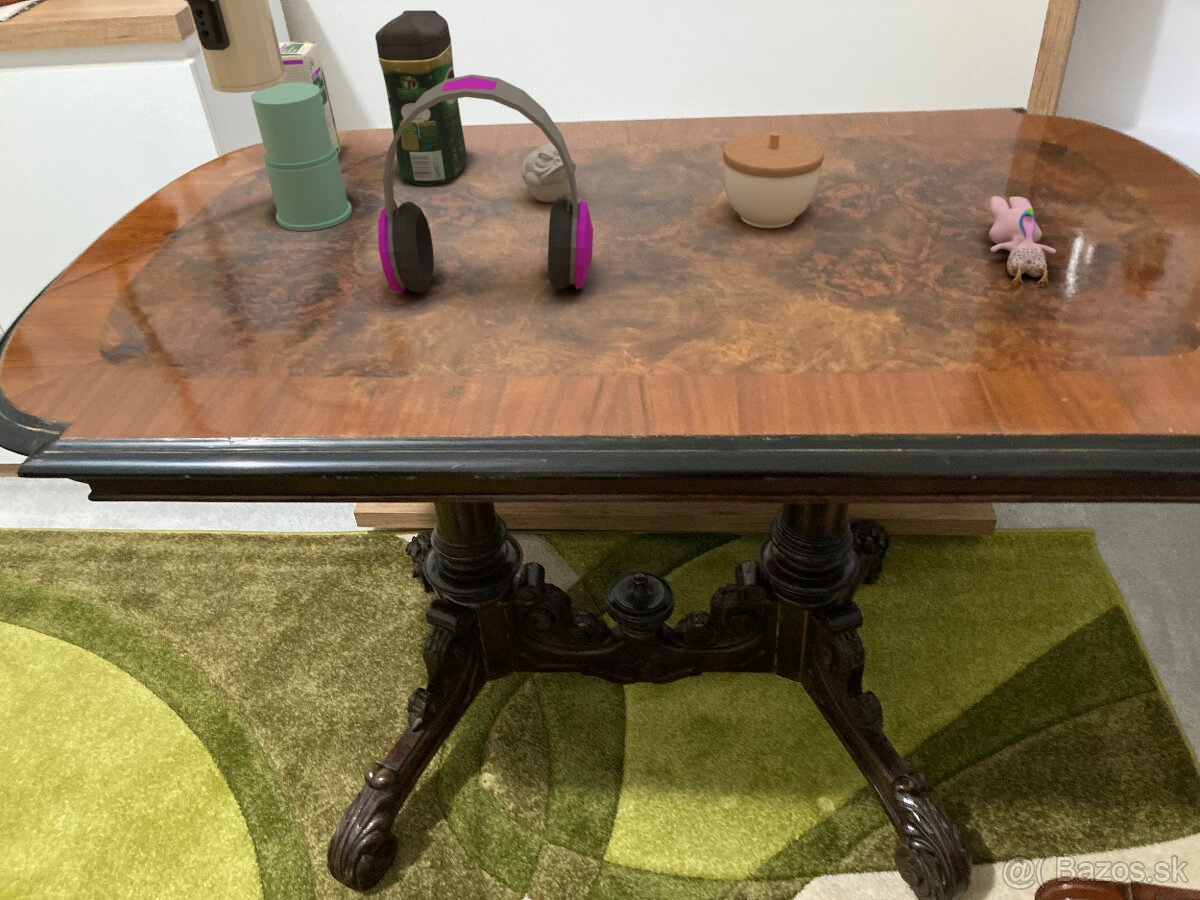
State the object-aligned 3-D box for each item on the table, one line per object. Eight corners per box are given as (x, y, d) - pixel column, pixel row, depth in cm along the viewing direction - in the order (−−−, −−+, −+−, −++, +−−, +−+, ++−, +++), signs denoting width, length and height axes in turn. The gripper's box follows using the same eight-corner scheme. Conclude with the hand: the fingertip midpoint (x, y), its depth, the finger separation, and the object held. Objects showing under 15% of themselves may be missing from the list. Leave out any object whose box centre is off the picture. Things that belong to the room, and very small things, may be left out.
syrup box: (333, 171, 118) (307, 52, 109) (287, 173, 118) (257, 54, 109) (342, 155, 122) (318, 39, 113) (298, 156, 122) (270, 41, 113)
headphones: (381, 310, 90) (339, 101, 77) (397, 268, 96) (361, 70, 84) (594, 305, 89) (586, 94, 77) (595, 263, 96) (588, 63, 83)
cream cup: (237, 97, 79) (210, -4, 74) (197, 84, 82) (168, -14, 77) (300, 78, 82) (277, -20, 77) (259, 66, 86) (235, -29, 81)
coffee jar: (415, 157, 121) (390, 4, 109) (473, 158, 120) (455, 4, 108) (391, 186, 113) (362, 26, 102) (453, 188, 112) (431, 26, 101)
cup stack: (307, 238, 103) (275, 111, 94) (262, 218, 107) (228, 96, 98) (367, 211, 108) (342, 89, 99) (321, 194, 112) (294, 75, 103)
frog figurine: (548, 217, 105) (544, 158, 101) (511, 199, 109) (506, 141, 105) (588, 202, 108) (586, 143, 104) (552, 185, 112) (548, 128, 108)
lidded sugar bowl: (702, 208, 106) (706, 126, 100) (783, 190, 109) (790, 110, 103) (750, 245, 98) (757, 159, 92) (835, 225, 101) (846, 141, 95)
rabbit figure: (1058, 298, 90) (1029, 211, 100) (1078, 248, 86) (1046, 162, 95) (992, 296, 91) (969, 210, 101) (1008, 246, 86) (984, 161, 96)
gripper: (180, -203, 76) (237, 15, 86) (72, -187, 65) (152, 61, 75) (264, -205, 74) (312, 16, 85) (170, -190, 63) (237, 62, 74)
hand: (237, 36), depth 80 cm, fingers closed on cream cup, 6 cm apart
